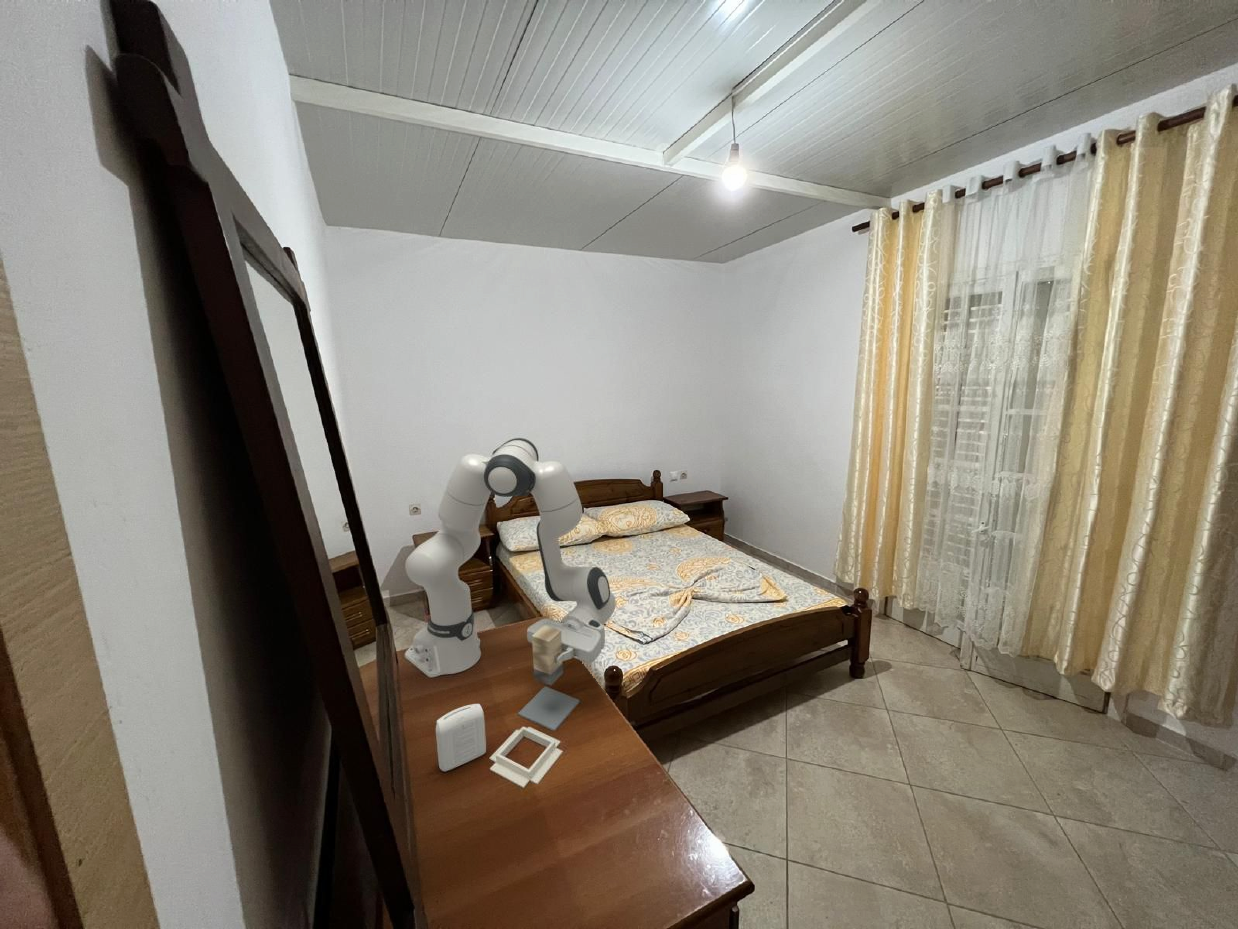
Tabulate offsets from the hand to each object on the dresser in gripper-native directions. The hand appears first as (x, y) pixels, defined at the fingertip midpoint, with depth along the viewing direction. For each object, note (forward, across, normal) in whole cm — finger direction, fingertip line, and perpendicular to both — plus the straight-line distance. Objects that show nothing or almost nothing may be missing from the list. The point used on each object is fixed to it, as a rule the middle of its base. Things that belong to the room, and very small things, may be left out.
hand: (545, 657), depth 115 cm
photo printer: (+20, -8, +16) cm, 27 cm away
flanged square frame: (+13, +4, +15) cm, 21 cm away
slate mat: (-1, 0, +15) cm, 15 cm away
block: (-1, 0, +6) cm, 6 cm away
